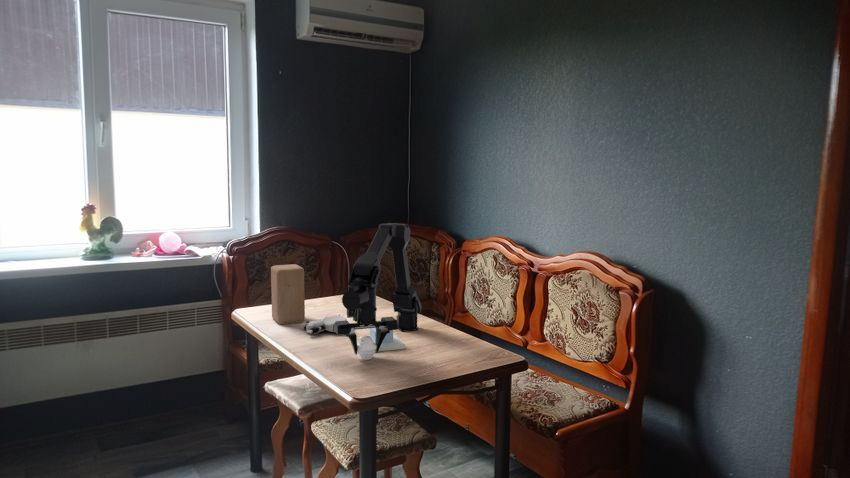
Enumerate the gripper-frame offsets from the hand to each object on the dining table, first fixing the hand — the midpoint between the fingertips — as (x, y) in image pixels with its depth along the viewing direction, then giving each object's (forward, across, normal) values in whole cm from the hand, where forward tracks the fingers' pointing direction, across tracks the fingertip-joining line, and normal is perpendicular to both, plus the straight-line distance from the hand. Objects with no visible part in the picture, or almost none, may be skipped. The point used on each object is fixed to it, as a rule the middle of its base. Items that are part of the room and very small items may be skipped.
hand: (366, 353), depth 189 cm
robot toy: (+2, +6, -32) cm, 32 cm away
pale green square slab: (+2, -8, -11) cm, 14 cm away
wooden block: (+2, +16, -50) cm, 53 cm away
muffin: (+2, 0, 0) cm, 2 cm away
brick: (0, -8, -11) cm, 14 cm away
